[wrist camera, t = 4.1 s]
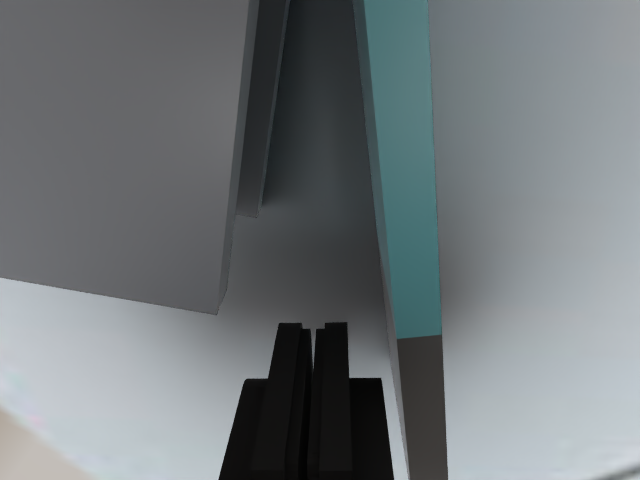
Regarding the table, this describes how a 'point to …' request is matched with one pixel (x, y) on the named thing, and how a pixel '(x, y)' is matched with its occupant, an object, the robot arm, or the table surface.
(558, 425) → the table surface
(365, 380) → the robot arm
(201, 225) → the camera case
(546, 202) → the table surface
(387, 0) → the door
